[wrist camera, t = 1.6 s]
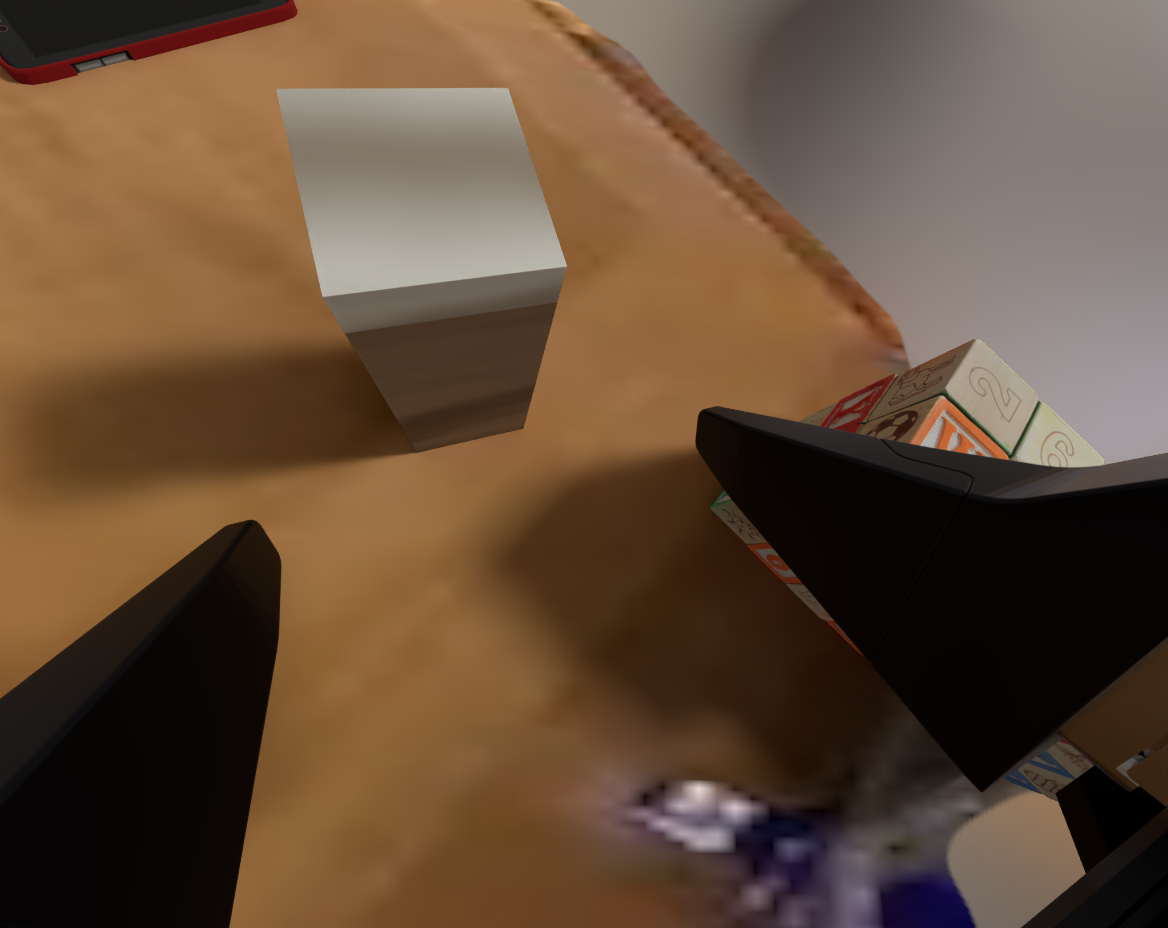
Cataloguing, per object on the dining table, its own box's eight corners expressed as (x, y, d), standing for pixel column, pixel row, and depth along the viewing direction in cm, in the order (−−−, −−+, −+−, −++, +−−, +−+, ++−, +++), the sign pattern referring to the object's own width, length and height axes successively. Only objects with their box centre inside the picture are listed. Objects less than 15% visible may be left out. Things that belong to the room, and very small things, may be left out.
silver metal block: (523, 428, 23) (567, 266, 11) (417, 452, 21) (322, 297, 9) (496, 336, 24) (507, 88, 11) (392, 353, 22) (276, 88, 10)
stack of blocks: (1012, 677, 26) (1435, 766, 15) (974, 769, 24) (1428, 958, 13) (762, 435, 26) (984, 329, 15) (704, 507, 24) (906, 452, 13)
